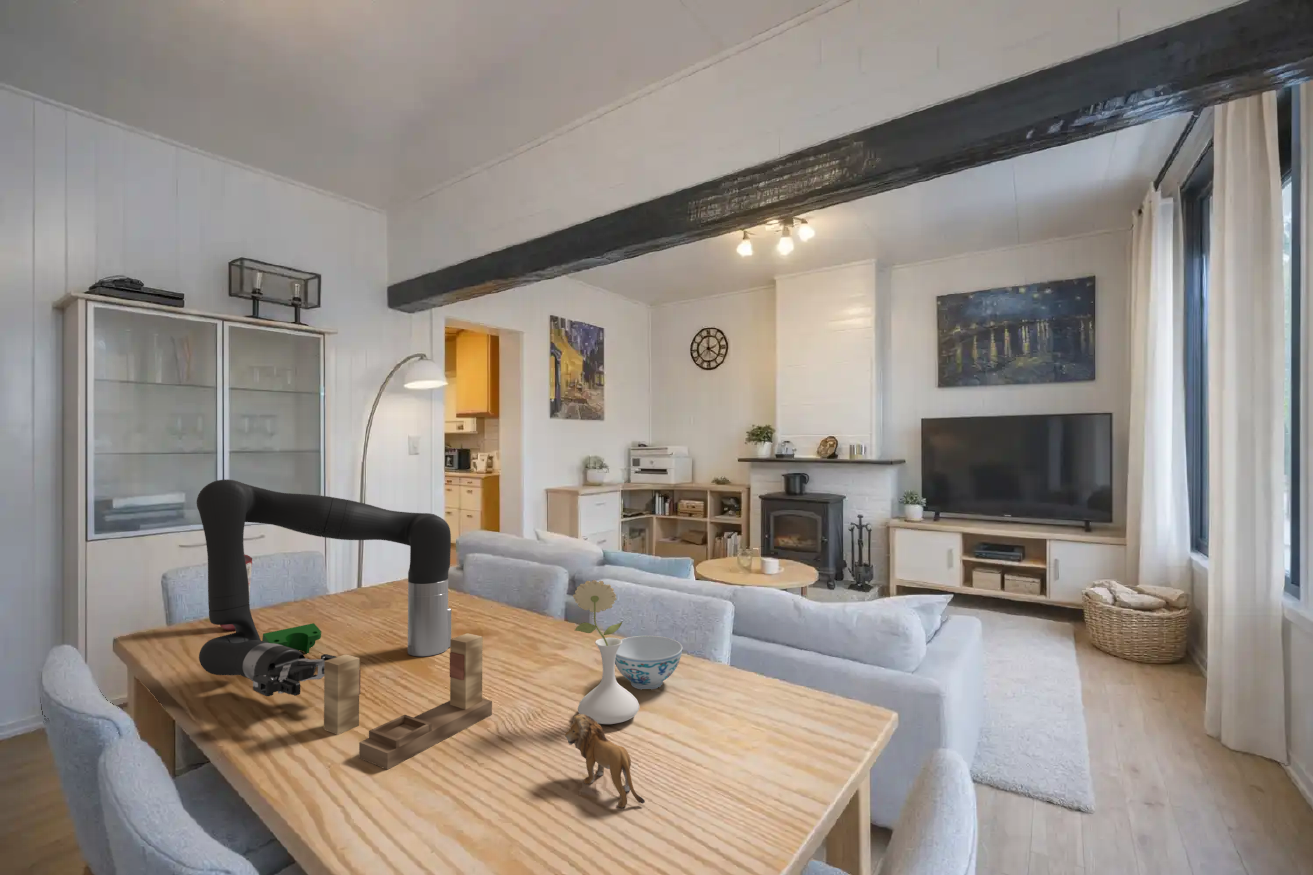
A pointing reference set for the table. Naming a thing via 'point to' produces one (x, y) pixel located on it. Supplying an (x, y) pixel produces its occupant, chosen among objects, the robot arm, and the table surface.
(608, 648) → the flower in vase
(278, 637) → the clamp
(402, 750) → the wooden block stand
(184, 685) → the table surface
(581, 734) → the lion figurine
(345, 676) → the tall wooden pillar
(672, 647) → the chinaware
